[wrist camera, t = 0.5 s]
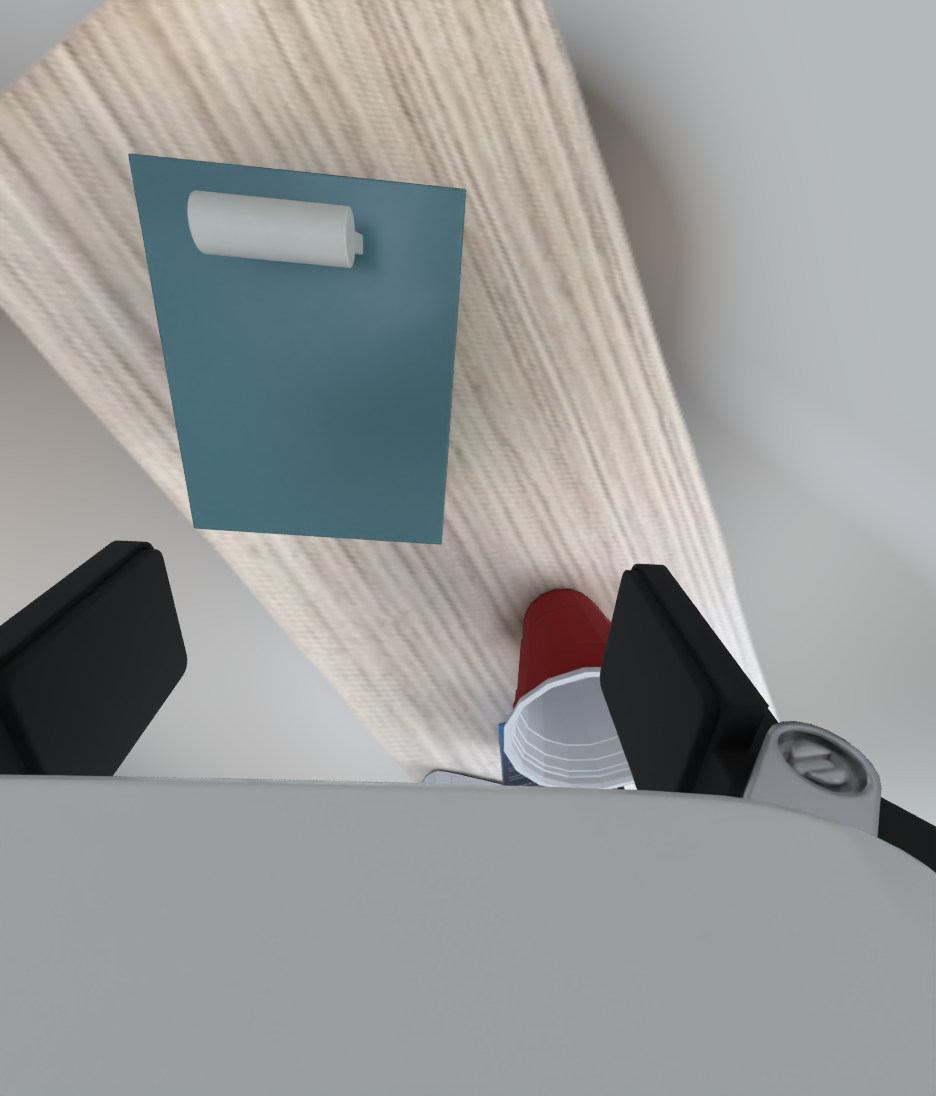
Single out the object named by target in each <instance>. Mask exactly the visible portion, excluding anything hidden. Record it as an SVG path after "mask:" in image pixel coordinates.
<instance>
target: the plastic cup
mask: <svg viewBox="0 0 936 1096" xmlns="http://www.w3.org/2000/svg"><path fill="white" fill-rule="evenodd" d="M610 626H611V621H609V620H608V619H607V618H606V617H605V616H604V614H603V613H602V612H601V610H600V609H599V608H598V607H597V605H596V604H595V603H593V602H592V601H591V600H590V599H589V598H588V597H587V596H585V595H584V594H583V593H580V592H577V591H574V590H571V589H561V590H553V591H550V592H548V593H545V594H542V595H541V596H540V597H538V598H537V599H536V600H535V601H534V602H532V603H531V605H530V607H529V608H528V610H527V612H526V614H525V618H524V620H523V638H522V639H521V648H520V661H519V674H518V687H517V690H516V695H515V702H514V703H513V711H512V712H511V714H510V716H509V717H508V719H507V720H506V723H505V726H504V752H505V754H506V755H507V757H508V758H509V760H510V761H511V763H512V765H513V766H514V768H515V769H516V771H517V772H519V773H521V774H522V775H524V776H526V777H527V778H529V779H531V780H532V781H534V782H535V783H537V784H539V785H541V786H546V787H569V788H593V789H614V788H618V787H622V786H626V785H630V784H633V783H635V782H634V779H633V776H632V774H631V771H630V768H629V765H628V762H627V760H626V757H625V754H624V751H623V748H622V746H621V743H620V740H619V737H618V734H617V732H616V729H615V726H614V723H613V720H612V718H611V715H610V712H609V709H608V706H607V704H606V701H605V698H604V695H603V692H602V690H601V686H600V669H601V665H602V661H603V657H604V652H605V648H606V644H607V639H608V635H609V631H610Z"/></svg>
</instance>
